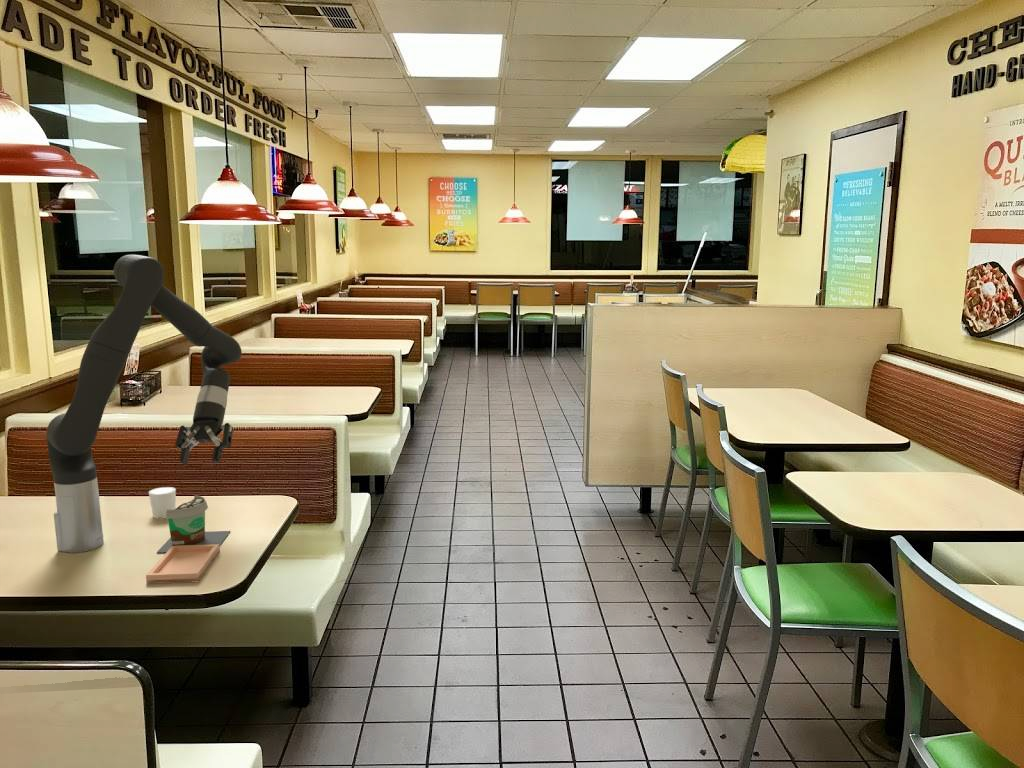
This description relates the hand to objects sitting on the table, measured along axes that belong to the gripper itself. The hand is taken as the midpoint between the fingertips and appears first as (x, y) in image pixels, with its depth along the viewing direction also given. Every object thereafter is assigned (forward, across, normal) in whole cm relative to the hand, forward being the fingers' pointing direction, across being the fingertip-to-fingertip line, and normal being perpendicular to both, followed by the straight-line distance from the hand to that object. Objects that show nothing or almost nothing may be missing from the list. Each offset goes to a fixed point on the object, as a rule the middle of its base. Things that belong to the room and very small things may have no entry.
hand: (199, 462), depth 198 cm
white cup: (+7, -19, +19) cm, 28 cm away
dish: (+29, +6, -6) cm, 30 cm away
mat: (+20, 0, +5) cm, 20 cm away
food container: (+19, 0, +5) cm, 20 cm away
